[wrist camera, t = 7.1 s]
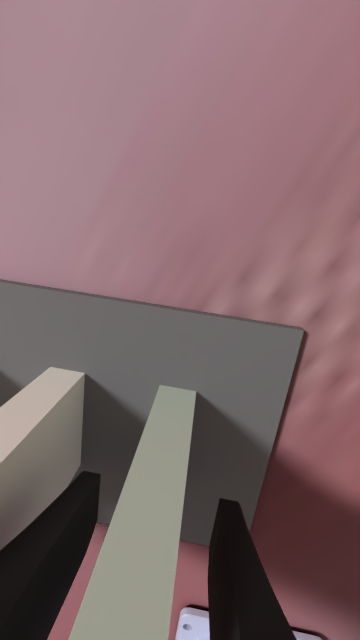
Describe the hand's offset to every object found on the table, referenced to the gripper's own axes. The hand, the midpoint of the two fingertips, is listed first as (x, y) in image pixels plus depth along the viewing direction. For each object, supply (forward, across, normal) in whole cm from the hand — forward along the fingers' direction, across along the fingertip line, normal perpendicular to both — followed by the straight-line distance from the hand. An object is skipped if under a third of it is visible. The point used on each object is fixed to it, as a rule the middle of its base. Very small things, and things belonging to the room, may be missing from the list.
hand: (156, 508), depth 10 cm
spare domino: (+4, 0, 0) cm, 4 cm away
